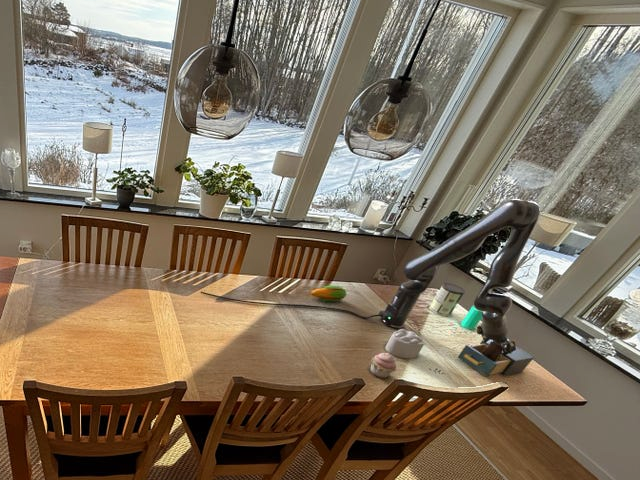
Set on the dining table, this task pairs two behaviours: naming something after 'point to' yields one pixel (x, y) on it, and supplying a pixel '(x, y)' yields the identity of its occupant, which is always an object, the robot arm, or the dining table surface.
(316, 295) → the corn
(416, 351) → the lumpy-topped squat cylinder
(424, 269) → the robot arm
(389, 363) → the cupcake
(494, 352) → the pepper mill
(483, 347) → the drawer
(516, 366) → the cabinet
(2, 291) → the dining table surface
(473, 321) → the candle
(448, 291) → the coffee can
